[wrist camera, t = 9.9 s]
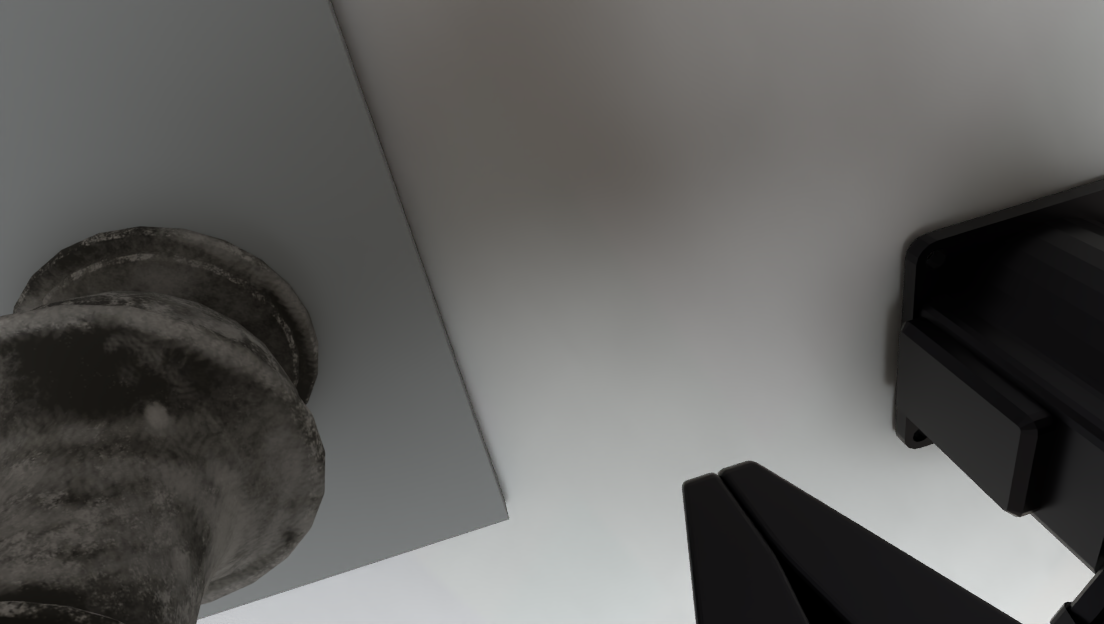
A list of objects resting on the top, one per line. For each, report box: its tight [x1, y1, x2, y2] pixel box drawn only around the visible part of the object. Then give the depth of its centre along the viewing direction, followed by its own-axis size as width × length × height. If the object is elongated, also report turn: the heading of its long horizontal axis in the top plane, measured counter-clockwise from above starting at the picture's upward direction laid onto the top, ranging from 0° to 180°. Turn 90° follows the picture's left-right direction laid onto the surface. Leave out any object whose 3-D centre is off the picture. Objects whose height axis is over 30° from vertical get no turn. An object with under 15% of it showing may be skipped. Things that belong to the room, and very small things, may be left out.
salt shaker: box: [0, 226, 325, 624], centre depth 9 cm, size 6×6×12 cm
